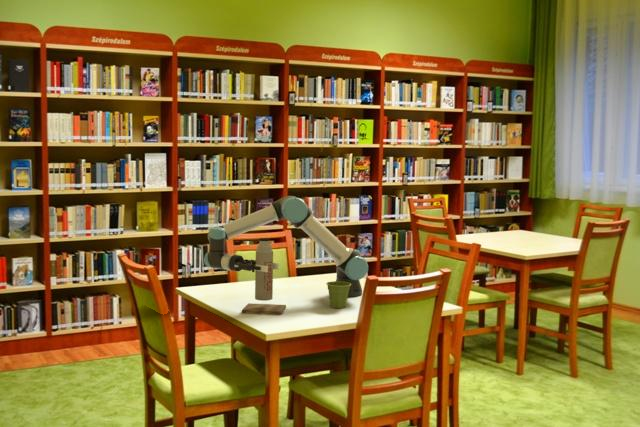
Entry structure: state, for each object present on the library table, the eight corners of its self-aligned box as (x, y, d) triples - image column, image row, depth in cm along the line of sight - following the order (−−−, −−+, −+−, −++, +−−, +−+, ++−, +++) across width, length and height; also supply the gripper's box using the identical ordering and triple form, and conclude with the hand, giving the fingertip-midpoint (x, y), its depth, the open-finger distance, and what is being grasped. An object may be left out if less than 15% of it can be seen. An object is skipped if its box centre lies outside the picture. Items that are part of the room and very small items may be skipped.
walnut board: (286, 308, 353) (286, 304, 353) (281, 314, 339) (281, 311, 339) (248, 306, 355) (248, 303, 355) (241, 313, 341) (241, 309, 341)
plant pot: (342, 310, 349) (343, 287, 348) (321, 307, 355) (321, 284, 354) (355, 306, 359) (355, 283, 358) (334, 303, 365) (334, 280, 364)
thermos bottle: (275, 299, 345) (276, 239, 342) (259, 301, 341) (260, 239, 338) (268, 296, 352) (269, 237, 349) (252, 297, 348) (253, 237, 345)
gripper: (246, 267, 363) (285, 272, 351) (219, 273, 346) (259, 279, 334) (246, 252, 362) (285, 256, 351) (219, 257, 345) (259, 262, 333)
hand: (272, 267), depth 342 cm, fingers closed on thermos bottle, 8 cm apart
